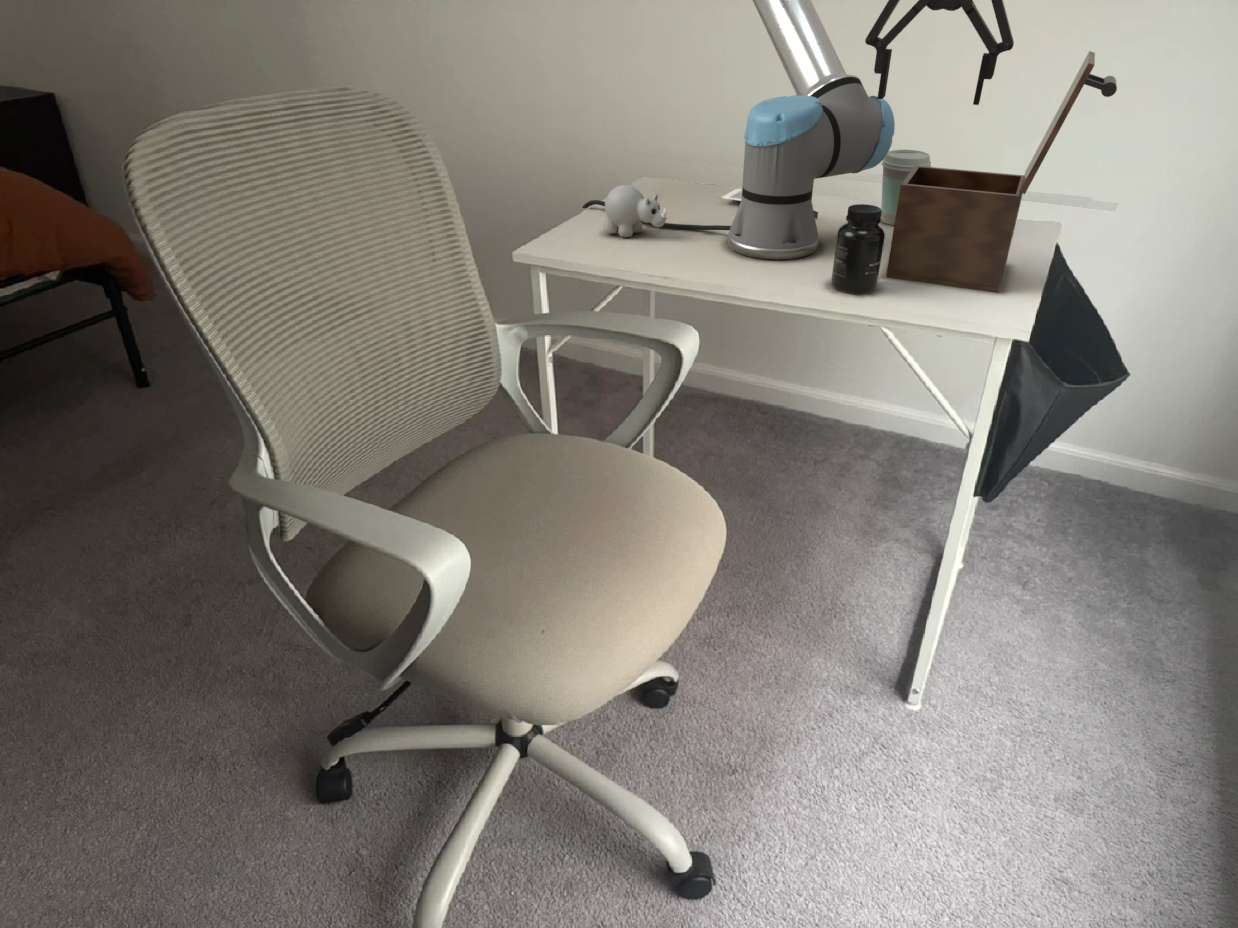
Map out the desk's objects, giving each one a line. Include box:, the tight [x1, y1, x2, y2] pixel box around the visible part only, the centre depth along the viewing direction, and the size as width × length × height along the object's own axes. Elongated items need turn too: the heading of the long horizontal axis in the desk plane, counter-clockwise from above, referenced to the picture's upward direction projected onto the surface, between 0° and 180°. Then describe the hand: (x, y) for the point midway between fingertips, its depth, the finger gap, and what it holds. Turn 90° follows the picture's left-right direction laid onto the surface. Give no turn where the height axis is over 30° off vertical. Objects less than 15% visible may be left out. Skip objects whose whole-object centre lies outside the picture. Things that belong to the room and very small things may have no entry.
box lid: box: [1020, 50, 1118, 195], centre depth 120 cm, size 17×13×5 cm
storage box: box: [885, 166, 1025, 293], centre depth 132 cm, size 17×13×14 cm
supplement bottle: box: [830, 203, 886, 295], centre depth 128 cm, size 7×7×12 cm
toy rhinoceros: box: [603, 184, 668, 238], centre depth 151 cm, size 7×12×8 cm, turn 57°
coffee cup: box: [880, 149, 932, 226], centre depth 156 cm, size 8×8×12 cm
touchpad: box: [720, 188, 742, 202], centre depth 169 cm, size 8×15×2 cm, turn 59°
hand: (927, 100), depth 128 cm, fingers open, 13 cm apart
